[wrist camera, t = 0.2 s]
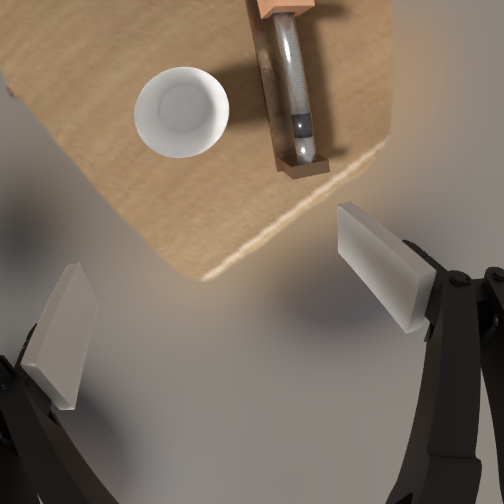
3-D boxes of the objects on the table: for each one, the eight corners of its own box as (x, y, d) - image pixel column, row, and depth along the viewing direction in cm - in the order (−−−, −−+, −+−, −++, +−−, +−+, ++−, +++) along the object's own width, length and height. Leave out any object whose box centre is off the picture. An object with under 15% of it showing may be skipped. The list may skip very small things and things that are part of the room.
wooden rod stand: (242, -11, 28) (251, -25, 23) (286, -13, 28) (300, -26, 24) (276, 170, 42) (289, 181, 37) (316, 162, 42) (333, 172, 37)
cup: (225, 82, 34) (241, 75, 24) (210, 147, 38) (219, 166, 28) (156, 71, 32) (143, 59, 21) (142, 137, 36) (125, 153, 25)
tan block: (256, -2, 27) (268, -17, 22) (292, -4, 27) (309, -17, 22) (261, 18, 28) (274, 6, 23) (297, 16, 29) (315, 5, 24)
